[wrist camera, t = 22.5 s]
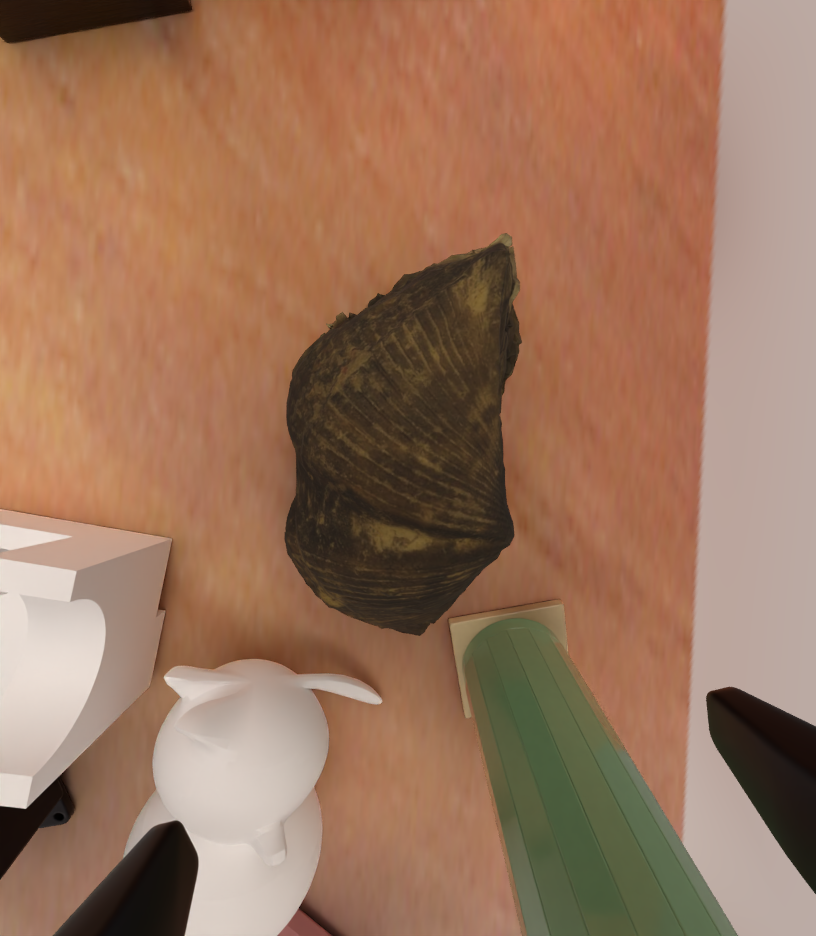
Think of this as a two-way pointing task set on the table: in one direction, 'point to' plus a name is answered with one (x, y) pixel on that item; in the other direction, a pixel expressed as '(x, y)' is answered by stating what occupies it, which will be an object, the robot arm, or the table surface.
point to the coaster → (471, 625)
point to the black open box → (76, 15)
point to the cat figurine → (245, 788)
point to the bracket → (70, 640)
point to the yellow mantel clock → (302, 926)
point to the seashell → (406, 443)
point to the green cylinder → (574, 800)
